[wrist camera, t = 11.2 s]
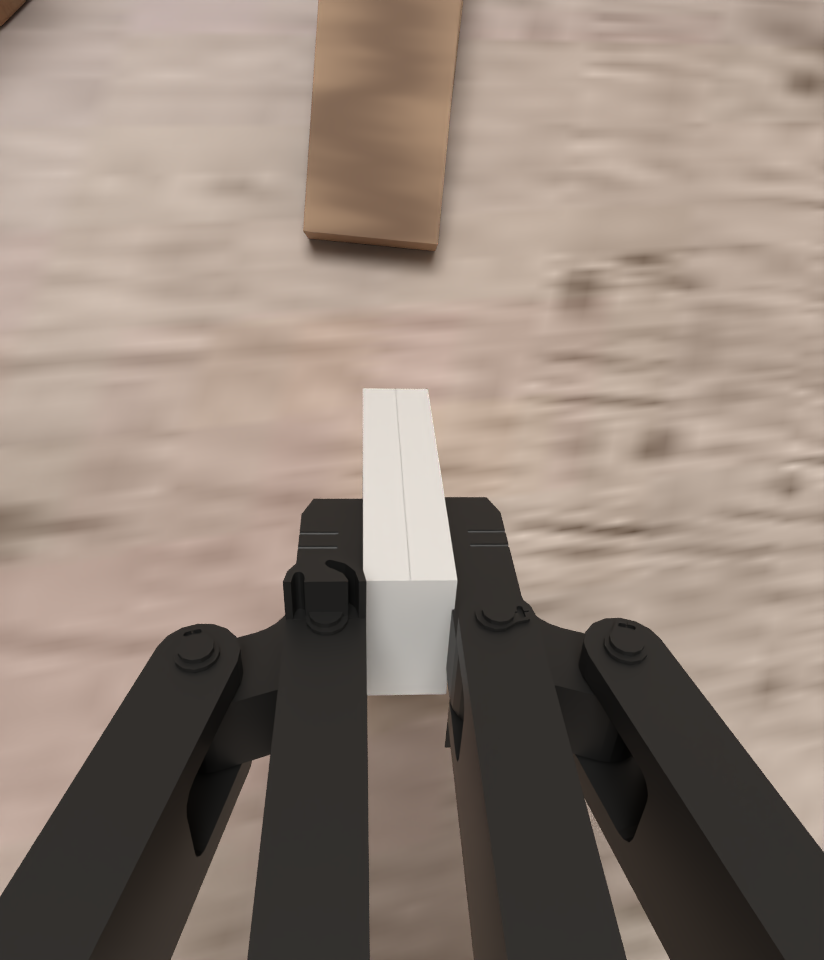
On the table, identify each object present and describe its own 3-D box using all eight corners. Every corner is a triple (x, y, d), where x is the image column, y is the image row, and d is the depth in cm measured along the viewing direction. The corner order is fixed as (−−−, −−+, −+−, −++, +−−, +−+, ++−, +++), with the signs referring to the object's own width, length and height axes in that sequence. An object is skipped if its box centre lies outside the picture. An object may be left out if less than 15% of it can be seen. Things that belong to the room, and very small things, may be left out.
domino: (303, 230, 28) (323, -67, 26) (308, 238, 30) (327, -40, 28) (437, 244, 28) (465, -50, 26) (434, 251, 30) (460, -24, 28)
